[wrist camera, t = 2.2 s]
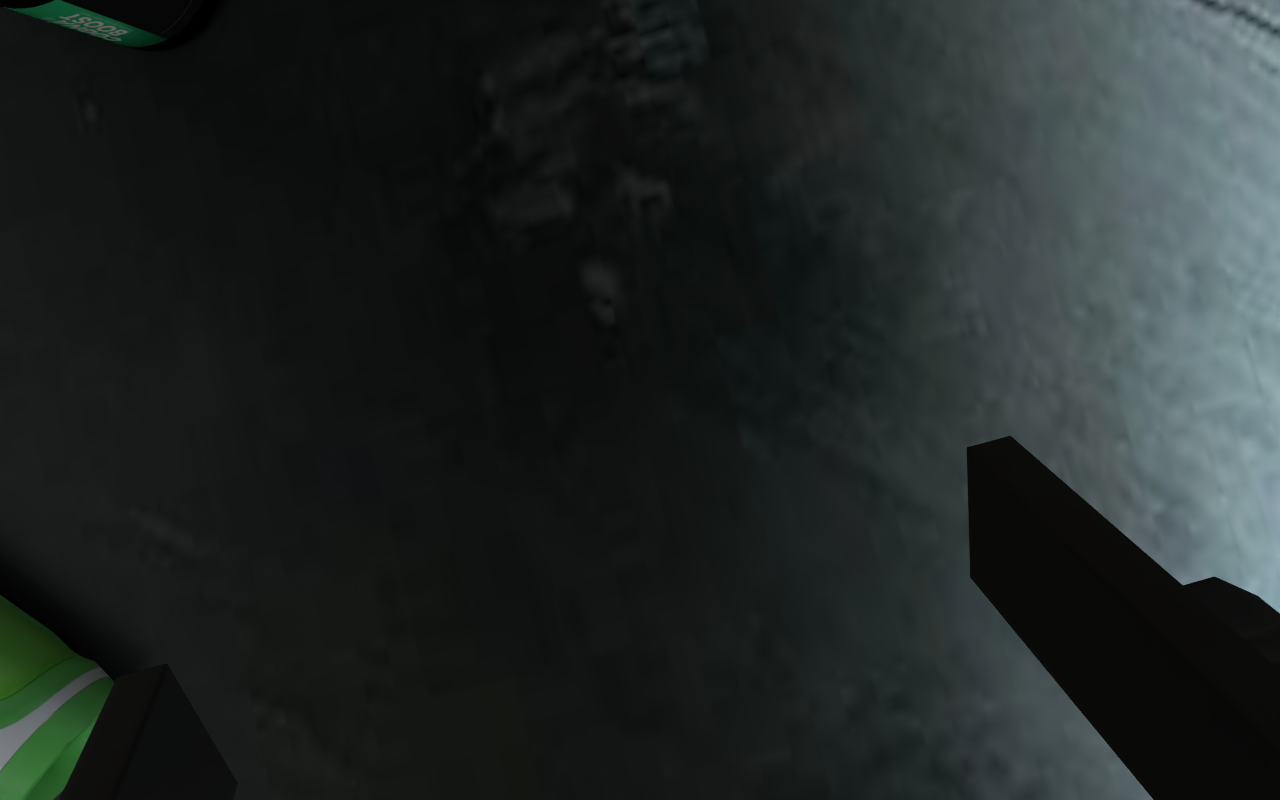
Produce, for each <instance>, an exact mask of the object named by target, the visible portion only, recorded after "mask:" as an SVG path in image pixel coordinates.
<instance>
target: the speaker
mask: <svg viewBox="0 0 1280 800" xmlns="http://www.w3.org/2000/svg"><path fill="white" fill-rule="evenodd" d="M113 684H114V681H113V680H112V679H111V678H110V677H109V676H108V675H107V674H106V673H105V671H104V670H103V669H102V668H101V667H100V666H99V665H98V664H97V663H96V662H95V661H93V660H90V659H87V658H84V657H82V656H80V655H78V654H76V653H75V652H74V651H73V650H71V649H70V648H69V647H68V646H67V645H66V644H65V643H64V642H63V641H62V640H61V639H60V638H59V637H58V636H57V635H55V634H54V633H53V632H52V631H51V630H49V629H48V628H46V627H45V626H44V625H42V624H41V623H39V622H38V621H37V620H35V619H34V618H32V617H31V616H30V615H28V614H27V613H25V612H24V611H22V610H21V609H20V608H18V607H17V606H15V605H14V604H13V603H11V602H10V601H8V600H7V599H5V598H4V597H3V596H1V595H0V800H53V799H54V798H55V797H56V796H57V795H58V794H59V793H60V792H61V791H62V790H63V789H64V788H65V786H66V784H67V782H68V780H69V778H70V776H71V773H72V771H73V769H74V767H75V765H76V763H77V761H78V759H79V756H80V754H81V752H82V750H83V748H84V746H85V744H86V742H87V740H88V737H89V735H90V733H91V731H92V729H93V727H94V725H95V723H96V720H97V718H98V716H99V714H100V712H101V710H102V708H103V706H104V703H105V701H106V699H107V697H108V695H109V693H110V691H111V689H112V686H113Z"/></svg>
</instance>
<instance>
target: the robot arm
mask: <svg viewBox="0 0 1280 800" xmlns="http://www.w3.org/2000/svg"><path fill="white" fill-rule="evenodd" d="M967 473H968V510H969V546H970V578H971V579H972V580H973V581H974V582H975V584H976V585H977V586H978V587H979V588H980V590H981V591H982V592H983V593H984V595H985V596H986V597H987V598H988V599H989V601H990V602H991V603H992V604H993V605H994V607H995V608H996V609H997V610H998V612H999V613H1000V614H1001V615H1002V616H1003V618H1004V619H1005V620H1006V621H1007V622H1008V624H1009V625H1010V626H1011V627H1012V629H1013V630H1014V631H1015V632H1016V633H1017V635H1018V636H1019V637H1020V638H1021V639H1022V641H1023V642H1024V643H1025V644H1026V645H1027V647H1028V648H1029V649H1030V650H1031V652H1032V653H1033V654H1034V655H1035V656H1036V658H1037V659H1038V660H1039V661H1040V662H1041V664H1042V665H1043V666H1044V667H1045V669H1046V670H1047V671H1048V672H1049V673H1050V675H1051V676H1052V677H1053V678H1054V679H1055V681H1056V682H1057V683H1058V684H1059V685H1060V687H1061V688H1062V689H1063V690H1064V692H1065V693H1066V694H1067V695H1068V696H1069V698H1070V699H1071V700H1072V701H1073V702H1074V704H1075V705H1076V706H1077V707H1078V709H1079V710H1080V711H1081V712H1082V713H1083V715H1084V716H1085V717H1086V718H1087V719H1088V721H1089V722H1090V723H1091V724H1092V726H1093V727H1094V728H1095V729H1096V730H1097V732H1098V733H1099V734H1100V735H1101V736H1102V738H1103V739H1104V740H1105V741H1106V742H1107V744H1108V745H1109V746H1110V747H1111V749H1112V750H1113V751H1114V752H1115V753H1116V755H1117V756H1118V757H1119V758H1120V759H1121V761H1122V762H1123V763H1124V764H1125V766H1126V767H1127V768H1128V769H1129V770H1130V772H1131V773H1132V774H1133V775H1134V776H1135V778H1136V779H1137V780H1138V781H1139V782H1140V784H1141V785H1142V786H1143V787H1144V789H1145V790H1146V791H1147V792H1148V793H1149V795H1150V796H1151V797H1152V798H1153V799H1154V800H1280V613H1278V612H1277V611H1276V610H1275V609H1273V608H1272V607H1271V606H1270V605H1268V604H1267V603H1266V602H1265V601H1263V600H1262V599H1261V598H1260V597H1258V596H1257V595H1254V594H1252V593H1250V592H1248V591H1246V590H1243V589H1241V588H1239V587H1237V586H1234V585H1232V584H1230V583H1228V582H1226V581H1223V580H1221V579H1219V578H1217V577H1211V578H1208V579H1204V580H1201V581H1197V582H1194V583H1190V584H1187V585H1182V584H1180V583H1179V582H1178V581H1177V580H1176V579H1175V578H1174V577H1172V576H1171V575H1170V574H1169V573H1168V572H1167V571H1165V570H1164V569H1163V568H1162V567H1161V566H1160V565H1159V564H1157V563H1156V562H1155V561H1154V560H1153V559H1152V558H1150V557H1149V556H1148V555H1147V554H1146V553H1145V552H1144V551H1142V550H1141V549H1140V548H1139V547H1138V546H1137V545H1136V544H1134V543H1133V542H1132V541H1131V540H1130V539H1129V538H1127V537H1126V536H1125V535H1124V534H1123V533H1122V532H1121V531H1119V530H1118V529H1117V528H1116V527H1115V526H1114V525H1113V524H1111V523H1110V522H1109V521H1108V520H1107V519H1106V518H1104V517H1103V516H1102V515H1101V514H1100V513H1099V512H1098V511H1096V510H1095V509H1094V508H1093V507H1092V506H1091V505H1089V504H1088V503H1087V502H1086V501H1085V500H1084V499H1083V498H1081V497H1080V496H1079V495H1078V494H1077V493H1076V492H1075V491H1073V490H1072V489H1071V488H1070V487H1069V486H1068V485H1066V484H1065V483H1064V482H1063V481H1062V480H1061V479H1060V478H1058V477H1057V476H1056V475H1055V474H1054V473H1053V472H1052V471H1050V470H1049V469H1048V468H1047V467H1046V466H1045V465H1043V464H1042V463H1041V462H1040V461H1039V460H1038V459H1037V458H1035V457H1034V456H1033V455H1032V454H1031V453H1030V452H1028V451H1027V450H1026V449H1025V448H1024V447H1023V446H1022V445H1020V444H1019V443H1018V442H1017V441H1016V440H1015V439H1014V438H1012V437H1011V436H1008V437H1004V438H1000V439H996V440H993V441H989V442H985V443H982V444H978V445H974V446H971V447H967ZM237 784H238V783H237V782H236V780H235V778H234V776H233V775H232V773H231V771H230V770H229V768H228V766H227V765H226V763H225V761H224V759H223V758H222V756H221V754H220V753H219V751H218V749H217V748H216V746H215V744H214V742H213V741H212V739H211V737H210V736H209V734H208V732H207V731H206V729H205V727H204V726H203V724H202V722H201V720H200V719H199V717H198V715H197V714H196V712H195V710H194V709H193V707H192V705H191V703H190V702H189V700H188V698H187V697H186V695H185V693H184V692H183V690H182V688H181V686H180V685H179V683H178V681H177V680H176V678H175V676H174V675H173V673H172V671H171V669H170V668H169V666H168V664H163V665H160V666H156V667H152V668H148V669H145V670H141V671H137V672H134V673H130V674H126V675H123V676H119V677H117V678H116V680H115V682H114V684H113V686H112V689H111V691H110V693H109V695H108V697H107V699H106V701H105V703H104V706H103V708H102V710H101V712H100V714H99V716H98V718H97V720H96V723H95V725H94V727H93V729H92V731H91V733H90V735H89V737H88V740H87V742H86V744H85V746H84V748H83V750H82V752H81V754H80V756H79V759H78V761H77V763H76V765H75V767H74V769H73V771H72V773H71V776H70V778H69V780H68V782H67V784H66V786H65V788H64V790H63V793H62V795H61V797H60V799H59V800H233V799H234V795H235V791H236V788H237Z"/></svg>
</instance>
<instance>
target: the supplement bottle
mask: <svg viewBox="0 0 1280 800" xmlns="http://www.w3.org/2000/svg"><path fill="white" fill-rule="evenodd" d="M219 2H220V0H0V7H2V8H5V9H9V10H12V11H15V12H18V13H21V14H24V15H27V16H30V17H34V18H37V19H40V20H43V21H46V22H49V23H52V24H55V25H59V26H62V27H65V28H68V29H71V30H74V31H77V32H81V33H84V34H87V35H90V36H93V37H96V38H99V39H102V40H106V41H109V42H112V43H115V44H119V45H122V46H125V47H129V48H133V49H138V50H144V51H161V50H167V49H171V48H175V47H178V46H180V45H182V44H184V43H186V42H188V41H189V40H191V39H193V38H194V37H195V36H196V35H198V34H199V33H200V32H201V31H202V30H203V29H204V28H205V27H206V25H207V24H208V23H209V22H210V20H211V19H212V17H213V15H214V13H215V12H216V10H217V7H218V5H219Z"/></svg>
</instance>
